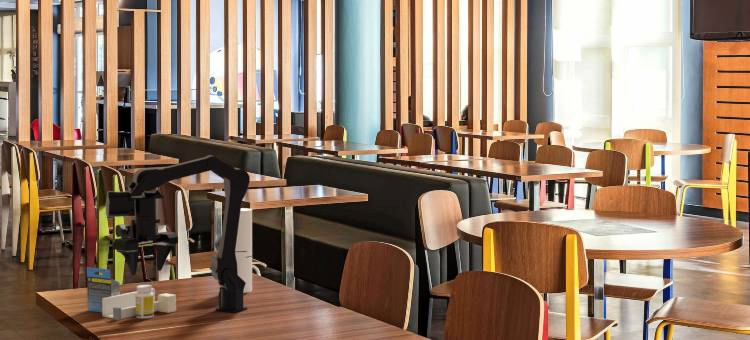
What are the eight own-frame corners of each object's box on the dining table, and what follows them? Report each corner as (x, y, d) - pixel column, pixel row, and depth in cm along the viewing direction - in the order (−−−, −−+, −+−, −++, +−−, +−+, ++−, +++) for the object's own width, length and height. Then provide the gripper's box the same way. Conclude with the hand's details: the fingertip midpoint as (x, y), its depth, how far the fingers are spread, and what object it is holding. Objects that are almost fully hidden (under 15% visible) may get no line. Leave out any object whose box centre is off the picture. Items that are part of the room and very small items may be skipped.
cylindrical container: (225, 289, 324) (225, 208, 322) (247, 288, 327) (247, 207, 325) (232, 293, 318) (232, 211, 316) (255, 292, 321) (255, 210, 319)
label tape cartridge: (120, 312, 291) (120, 267, 290) (111, 314, 288) (110, 269, 287) (96, 308, 295) (96, 264, 294) (86, 311, 292) (86, 266, 291)
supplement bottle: (156, 315, 287) (155, 284, 286) (150, 319, 282) (150, 288, 282) (138, 314, 287) (138, 284, 287) (133, 318, 283) (132, 287, 282)
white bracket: (180, 310, 294) (180, 292, 294) (127, 322, 278) (126, 303, 278) (154, 305, 300) (154, 287, 300) (100, 316, 284) (100, 298, 284)
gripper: (151, 210, 296) (151, 265, 297) (98, 216, 280) (99, 274, 282) (179, 213, 289) (179, 269, 290) (126, 219, 274) (127, 279, 275)
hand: (146, 273), depth 284 cm, fingers open, 9 cm apart
